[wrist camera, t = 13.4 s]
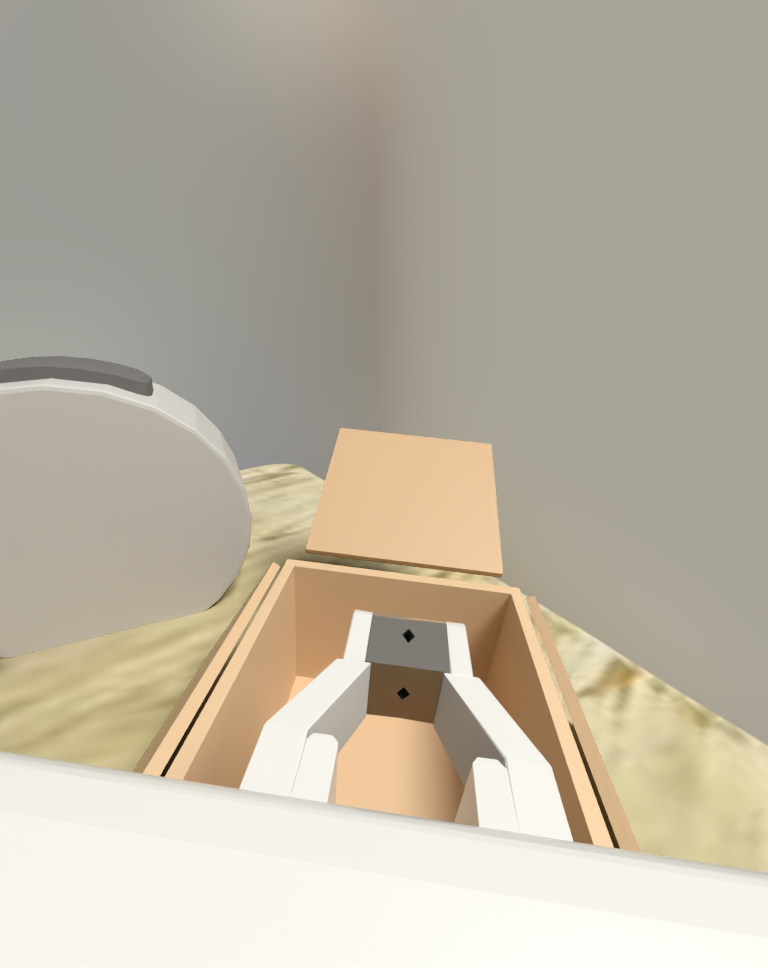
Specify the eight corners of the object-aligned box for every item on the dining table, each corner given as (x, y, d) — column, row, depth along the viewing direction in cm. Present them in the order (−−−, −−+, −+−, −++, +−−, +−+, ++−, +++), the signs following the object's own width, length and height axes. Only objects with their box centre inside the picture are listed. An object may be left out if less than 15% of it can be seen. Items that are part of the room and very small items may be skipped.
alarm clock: (247, 552, 39) (230, 357, 31) (258, 598, 33) (241, 371, 25) (-29, 603, 30) (-159, 344, 22) (-83, 680, 24) (-291, 362, 16)
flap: (503, 573, 22) (491, 444, 29) (305, 549, 22) (340, 427, 29) (500, 577, 22) (489, 448, 29) (306, 552, 23) (340, 432, 30)
